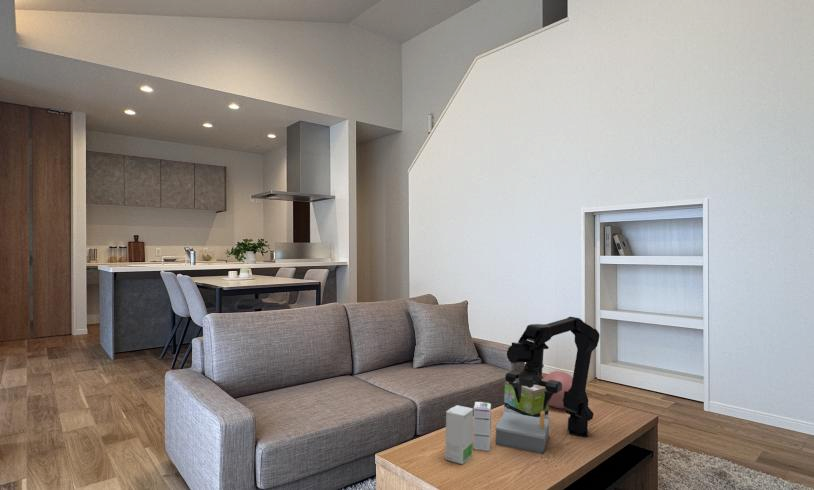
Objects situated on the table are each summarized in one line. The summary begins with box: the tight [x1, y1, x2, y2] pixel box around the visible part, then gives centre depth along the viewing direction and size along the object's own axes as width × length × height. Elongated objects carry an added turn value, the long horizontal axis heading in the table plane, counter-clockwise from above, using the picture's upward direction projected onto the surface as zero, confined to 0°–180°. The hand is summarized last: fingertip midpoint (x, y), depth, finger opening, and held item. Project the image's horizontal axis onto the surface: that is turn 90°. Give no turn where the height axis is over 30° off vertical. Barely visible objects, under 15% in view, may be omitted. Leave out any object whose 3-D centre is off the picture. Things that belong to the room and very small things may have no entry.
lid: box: [495, 411, 550, 439], centre depth 162 cm, size 16×16×6 cm
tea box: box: [503, 380, 550, 419], centre depth 182 cm, size 15×10×15 cm, turn 33°
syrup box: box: [472, 401, 492, 452], centre depth 156 cm, size 6×6×14 cm
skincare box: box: [444, 404, 474, 465], centre depth 148 cm, size 8×7×16 cm
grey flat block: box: [495, 424, 550, 455], centre depth 163 cm, size 16×16×5 cm
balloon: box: [542, 370, 573, 410], centre depth 194 cm, size 15×20×15 cm
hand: (531, 405), depth 159 cm, fingers open, 9 cm apart
